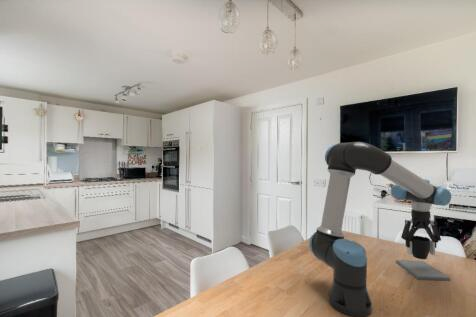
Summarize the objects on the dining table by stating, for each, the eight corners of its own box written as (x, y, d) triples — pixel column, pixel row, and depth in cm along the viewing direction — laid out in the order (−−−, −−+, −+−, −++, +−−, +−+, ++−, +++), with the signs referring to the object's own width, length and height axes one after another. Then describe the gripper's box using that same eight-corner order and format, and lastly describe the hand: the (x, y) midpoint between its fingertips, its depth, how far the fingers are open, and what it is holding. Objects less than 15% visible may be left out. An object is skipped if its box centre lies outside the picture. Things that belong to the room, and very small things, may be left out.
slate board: (450, 280, 107) (450, 278, 107) (418, 279, 109) (418, 276, 109) (423, 263, 125) (423, 260, 125) (395, 262, 126) (395, 259, 126)
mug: (437, 257, 116) (437, 238, 116) (424, 261, 111) (424, 242, 111) (419, 251, 123) (419, 233, 123) (406, 255, 118) (406, 236, 118)
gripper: (439, 208, 119) (439, 251, 119) (392, 207, 122) (392, 250, 122) (450, 211, 112) (451, 257, 112) (401, 211, 114) (401, 256, 114)
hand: (420, 253), depth 117 cm, fingers closed on mug, 10 cm apart
